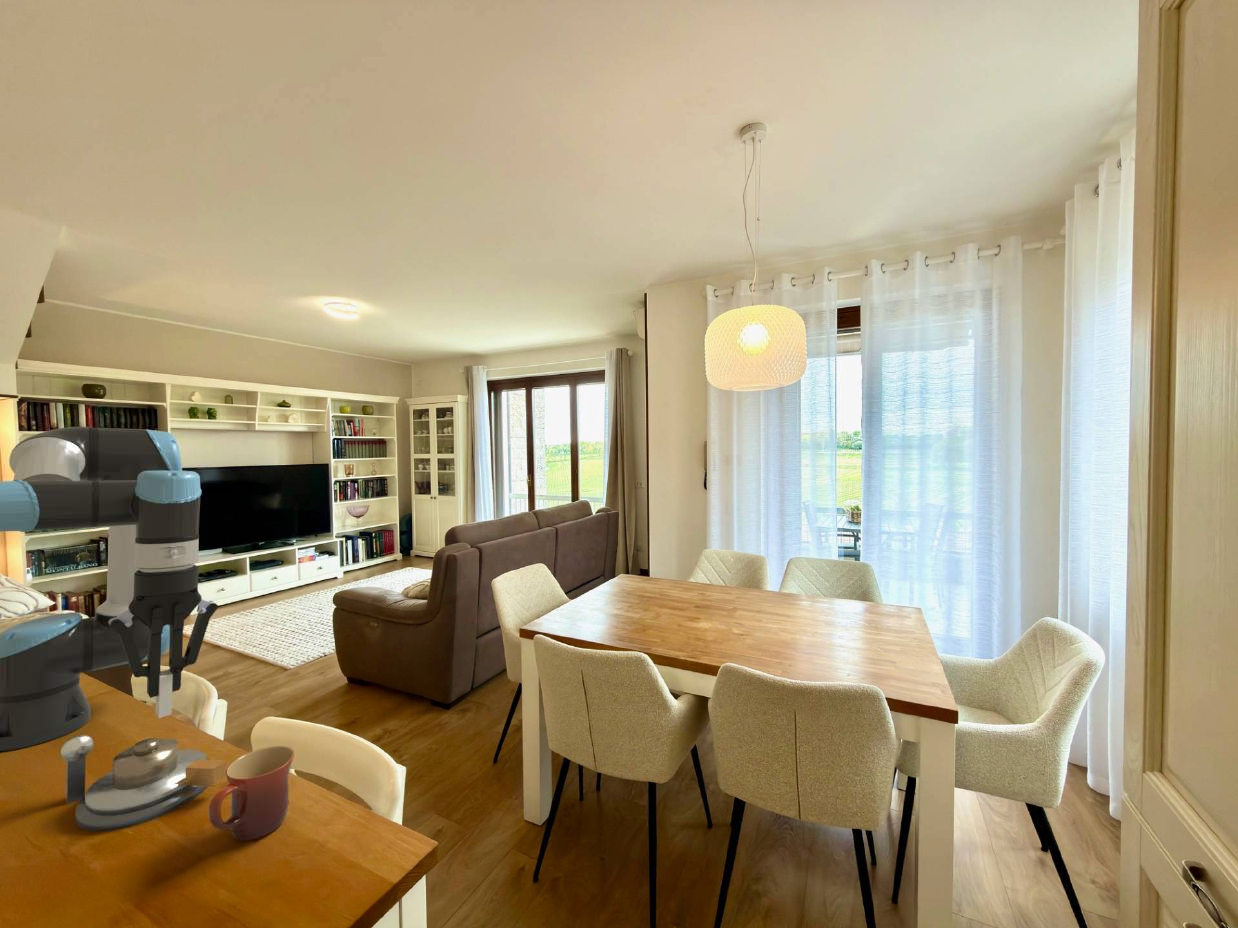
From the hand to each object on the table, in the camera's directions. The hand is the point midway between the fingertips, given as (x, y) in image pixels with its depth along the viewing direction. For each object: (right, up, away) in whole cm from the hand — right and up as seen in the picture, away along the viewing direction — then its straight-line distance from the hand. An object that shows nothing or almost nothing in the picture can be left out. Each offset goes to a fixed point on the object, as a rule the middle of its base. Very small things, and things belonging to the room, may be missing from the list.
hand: (163, 713), depth 78 cm
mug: (+16, -18, -3) cm, 24 cm away
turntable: (-5, -15, +6) cm, 17 cm away
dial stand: (-19, -17, +4) cm, 26 cm away
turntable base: (-8, -17, +6) cm, 20 cm away
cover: (-9, -14, +6) cm, 17 cm away
